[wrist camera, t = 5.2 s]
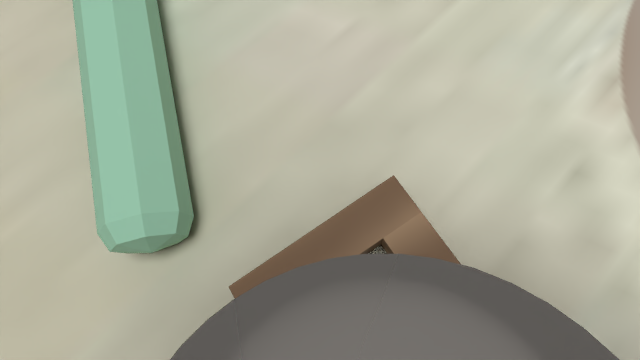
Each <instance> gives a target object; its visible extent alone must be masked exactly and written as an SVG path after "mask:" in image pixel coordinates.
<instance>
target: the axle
mask: <svg viewBox="0 0 640 360" xmlns="http://www.w3.org/2000/svg"><path fill="white" fill-rule="evenodd" d="M170 360H619V359H618V358H617V357H616V356H615V355H614V354H613V353H611V352H610V351H609V350H608V349H607V348H606V347H605V346H603V345H602V344H601V343H600V342H599V341H598V340H597V339H595V338H594V337H593V336H592V335H591V334H590V333H589V332H588V331H586V330H585V329H584V328H583V327H581V326H580V325H579V324H577V323H576V322H574V321H573V320H572V319H570V318H569V317H567V316H566V315H564V314H563V313H562V312H560V311H559V310H557V309H556V308H554V307H553V306H552V305H550V304H549V303H547V302H545V301H544V300H542V299H540V298H538V297H536V296H534V295H532V294H531V293H529V292H527V291H525V290H523V289H521V288H520V287H518V286H516V285H514V284H512V283H510V282H508V281H505V280H503V279H500V278H498V277H495V276H493V275H490V274H488V273H485V272H483V271H480V270H478V269H475V268H472V267H468V266H464V265H460V264H456V263H453V262H449V261H445V260H441V259H437V258H430V257H422V256H414V255H407V254H360V255H352V256H345V257H337V258H330V259H326V260H323V261H319V262H315V263H312V264H308V265H304V266H301V267H297V268H295V269H292V270H290V271H288V272H285V273H283V274H280V275H278V276H276V277H273V278H271V279H269V280H266V281H264V282H262V283H261V284H259V285H257V286H256V287H254V288H252V289H251V290H249V291H247V292H245V293H244V294H242V295H240V296H239V297H237V298H235V299H234V300H232V301H231V302H230V303H229V304H227V305H226V306H225V307H223V308H222V309H221V310H220V311H218V312H217V313H216V314H214V315H213V316H212V317H210V318H209V319H208V320H207V321H206V322H205V323H204V324H203V325H202V326H201V327H200V328H199V329H198V330H197V331H196V332H195V333H194V334H193V335H192V336H191V337H190V338H189V339H188V340H186V341H185V342H184V343H183V344H182V345H181V346H180V348H179V349H178V350H177V352H176V353H175V354H174V355H173V357H172V358H171V359H170Z"/></svg>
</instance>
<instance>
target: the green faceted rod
mask: <svg viewBox="0 0 640 360" xmlns="http://www.w3.org/2000/svg"><path fill="white" fill-rule="evenodd" d="M73 8H74V18H75V27H76V37H77V46H78V55H79V65H80V74H81V84H82V93H83V103H84V112H85V121H86V131H87V140H88V150H89V159H90V169H91V178H92V188H93V197H94V206H95V216H96V225H97V234H98V235H99V237H100V238H101V240H102V241H103V242H104V244H105V245H106V247H107V248H108V250H109V251H110V252H119V253H153V252H156V251H158V250H161V249H164V248H166V247H169V246H172V245H174V244H177V243H179V242H181V241H182V240H184V239H185V238H187V237H188V235H189V232H190V228H191V225H192V221H193V218H194V214H193V208H192V202H191V196H190V191H189V185H188V179H187V173H186V167H185V162H184V156H183V150H182V144H181V138H180V132H179V127H178V121H177V115H176V109H175V103H174V97H173V92H172V86H171V80H170V74H169V68H168V63H167V57H166V51H165V45H164V39H163V33H162V28H161V22H160V16H159V10H158V4H157V0H73Z"/></svg>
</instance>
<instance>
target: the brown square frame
mask: <svg viewBox="0 0 640 360" xmlns="http://www.w3.org/2000/svg"><path fill="white" fill-rule="evenodd" d="M379 245H382V246H383V248H384V249H385V251H386V252H387V254H407V255H414V256H422V257H430V258H437V259H441V260H445V261H449V262H453V263H456V264H460V263H459V261H458V260H457V259H456V257H455V256H454V255H453V253H452V252H451V251H450V249H449V248H448V247H447V245H446V244H445V243H444V241H443V240H442V239H441V237H440V236H439V235H438V233H437V232H436V231H435V229H434V228H433V227H432V225H431V224H430V223H429V221H428V220H427V219H426V218H425V216H424V215H423V214H422V212H421V211H420V210H419V208H418V207H417V206H416V204H415V203H414V202H413V200H412V199H411V198H410V196H409V195H408V194H407V192H406V191H405V190H404V188H403V187H402V186H401V184H400V183H399V182H398V180H397V179H396V178H395V176H394V175H393V176H392V177H390V178H389V179H387V180H386V181H384V182H383V183H382V184H380V185H379V186H377V187H376V188H374V189H373V190H371V191H370V192H368V193H367V194H365V195H364V196H362V197H361V198H359V199H358V200H356V201H355V202H353V203H352V204H350V205H349V206H347V207H346V208H344V209H343V210H342V211H340V212H339V213H337V214H336V215H334V216H333V217H331V218H330V219H328V220H327V221H325V222H324V223H322V224H321V225H319V226H318V227H316V228H315V229H313V230H312V231H310V232H309V233H307V234H306V235H304V236H303V237H301V238H300V239H299V240H297V241H296V242H294V243H293V244H291V245H290V246H288V247H287V248H285V249H284V250H282V251H281V252H279V253H278V254H276V255H275V256H273V257H272V258H270V259H269V260H267V261H266V262H264V263H263V264H261V265H260V266H259V267H257V268H256V269H254V270H253V271H251V272H250V273H248V274H247V275H245V276H244V277H242V278H241V279H239V280H238V281H236V282H235V283H233V284H232V285H230V286H229V289H230V290H231V292H232V294H233V296H234V298H237V297H239V296H240V295H242V294H244V293H245V292H247V291H249V290H251V289H252V288H254V287H256V286H257V285H259V284H261V283H262V282H264V281H266V280H269V279H271V278H273V277H276V276H278V275H280V274H283V273H285V272H288V271H290V270H292V269H295V268H297V267H301V266H304V265H308V264H312V263H315V262H319V261H323V260H326V259H330V258H337V257H345V256H352V255H360V254H368V253H369V252H371V251H372V250H374V249H375V248H376V247H378V246H379ZM460 265H461V264H460Z"/></svg>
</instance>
